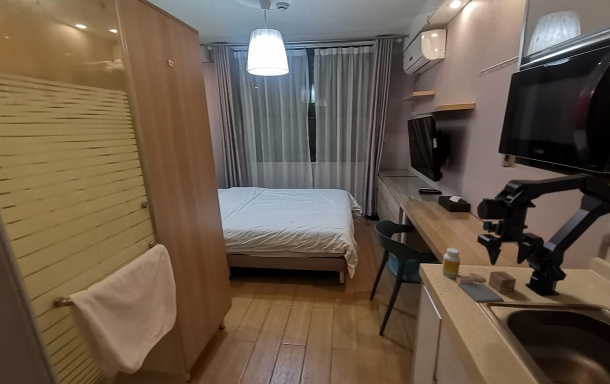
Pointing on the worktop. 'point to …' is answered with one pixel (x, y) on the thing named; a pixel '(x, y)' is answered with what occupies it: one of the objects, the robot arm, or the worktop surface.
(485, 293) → the slate trivet
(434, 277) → the worktop surface
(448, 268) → the supplement bottle
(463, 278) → the pink eraser
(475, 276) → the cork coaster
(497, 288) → the walnut block
